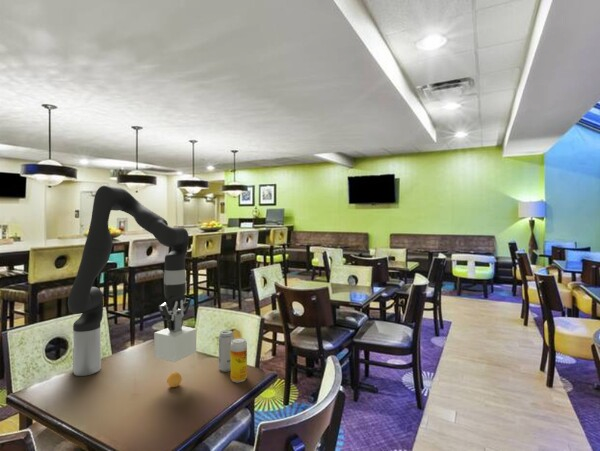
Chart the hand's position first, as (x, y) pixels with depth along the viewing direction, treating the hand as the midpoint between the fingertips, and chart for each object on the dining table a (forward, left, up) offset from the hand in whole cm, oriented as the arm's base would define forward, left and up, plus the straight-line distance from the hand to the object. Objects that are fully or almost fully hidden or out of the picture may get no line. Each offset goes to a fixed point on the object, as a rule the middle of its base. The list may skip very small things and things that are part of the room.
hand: (175, 328), depth 126 cm
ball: (+1, -1, -18) cm, 18 cm away
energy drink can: (+8, +19, -21) cm, 29 cm away
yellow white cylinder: (+18, +14, -21) cm, 31 cm away
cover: (0, 0, -10) cm, 10 cm away
